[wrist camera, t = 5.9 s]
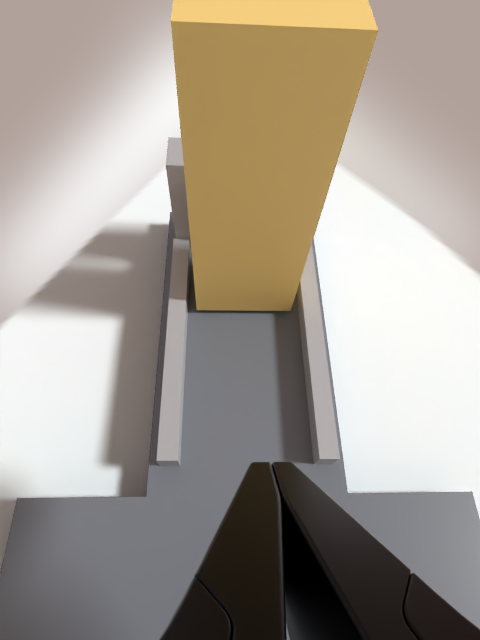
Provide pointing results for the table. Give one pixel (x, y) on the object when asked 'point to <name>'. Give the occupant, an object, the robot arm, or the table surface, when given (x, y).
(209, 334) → the checker
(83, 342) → the table surface
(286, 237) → the tall mustard pillar
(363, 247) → the table surface
